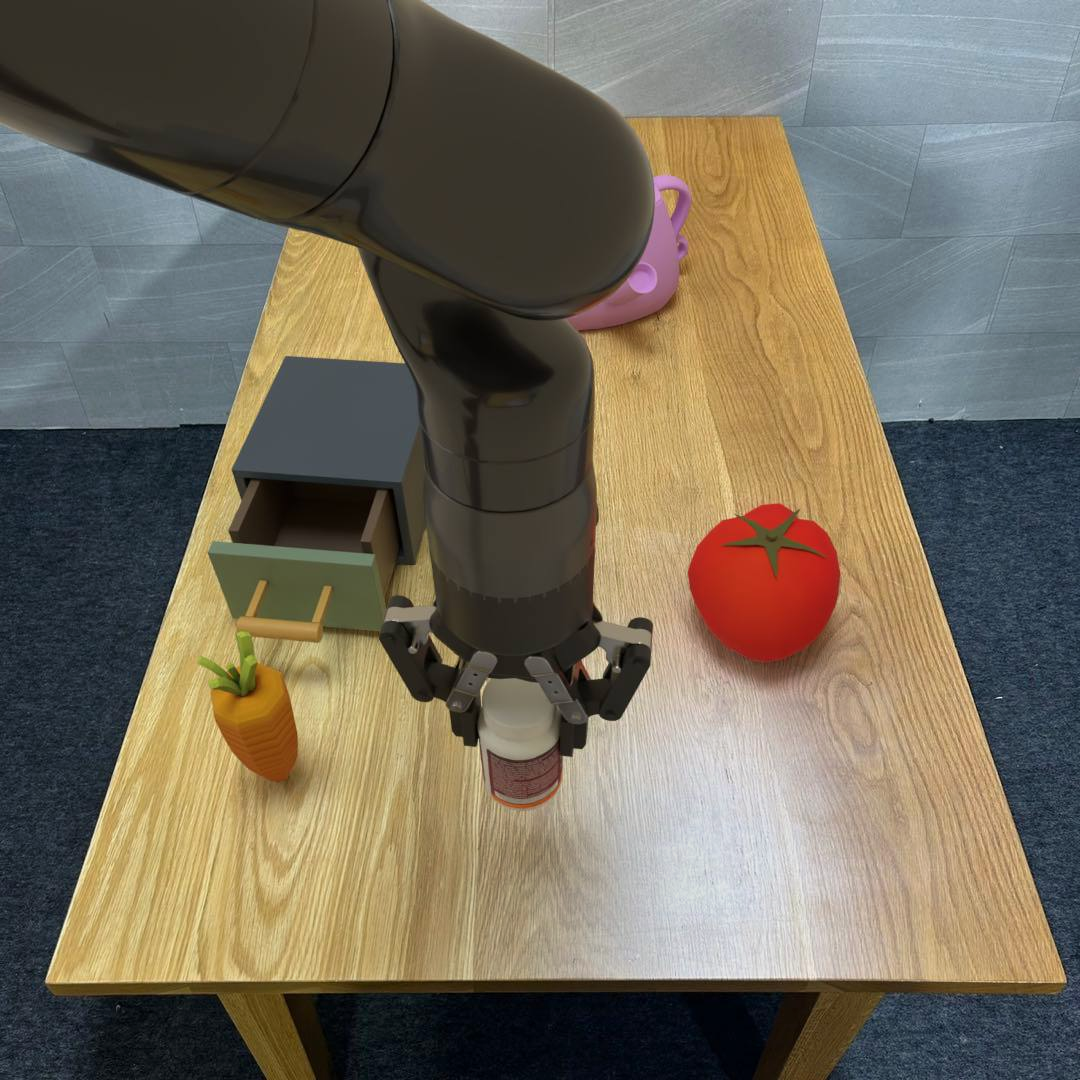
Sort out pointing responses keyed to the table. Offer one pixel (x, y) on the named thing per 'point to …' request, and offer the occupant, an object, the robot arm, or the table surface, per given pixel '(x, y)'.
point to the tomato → (765, 582)
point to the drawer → (308, 558)
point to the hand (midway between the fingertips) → (521, 737)
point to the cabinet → (342, 434)
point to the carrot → (254, 713)
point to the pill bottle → (519, 744)
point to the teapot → (648, 266)
